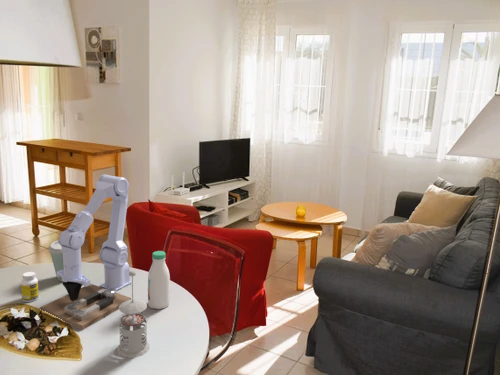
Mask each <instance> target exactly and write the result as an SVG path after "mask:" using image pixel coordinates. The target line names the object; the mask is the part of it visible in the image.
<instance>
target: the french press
mask: <svg viewBox="0 0 500 375" xmlns="http://www.w3.org/2000/svg"><path fill="white" fill-rule="evenodd" d="M136 275H137V273H136V271H135V270H130V272H129V276H130V277H131V282H132V283H131V300H128V301H125V302H124V303H122V304H121V305H120V306H119V309H118V310H119V312H121V313H122V314H123V316H122V317H121V318H120V322H119V344H118V345H117V347H116V352H117V354H118V355H119V356H121V357H123V358H128V359H131V358H137V357H138V358H139V357H141V356H143V355H145V354H146V353H148V352H149V350H150V348H151V345H150V343H149V341H148V340H147V336H148V335H147V334H148V333H147V332H148V331H147V328H148V327H147V324H148V323H147V322H148V321H147V320H146V316H145V314H143V313H142V312H144V311H145V310H147V307H148V303H146V302H145V301H144V300H140V299H137V298H136V299H134V276H136ZM131 327H132V330H131Z"/></svg>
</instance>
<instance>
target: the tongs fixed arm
mask: <svg viewBox="0 0 500 375" xmlns="http://www.w3.org/2000/svg"><path fill="white" fill-rule="evenodd" d="M112 304H113V298H111V297H107V298H105V299H103V300H101V301H99V302H97V303H95V304H94V305H93V306H91V307H89V308H87V309H85V310H83V311H82V310H79V309H78V310H76V311H75V312H74V318H77V319H79V320H84V319H86V318H88V317H90V316H91V315H93V314H95V313H97V312H99V311H101V310H103V309H104V308H106V307H108V306H110V305H112Z"/></svg>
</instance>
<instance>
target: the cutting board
mask: <svg viewBox="0 0 500 375" xmlns="http://www.w3.org/2000/svg"><path fill="white" fill-rule="evenodd" d="M102 289H105V288H103V287H100V285H99V286H98V285H95V284H92V283H90V285H89V286H87V287H85V286H82V287H81V289H80V292H79V296H78V299H77V300H75V301H71V300H70V297H69V294H68V293H67V294H65V295H64V296H61V297H59V298H57V299H55V300H53V301H50V302H49V303H46V304H45V305H42V306H40V307H39V310H40V309H41V310H43V311H46V312H48V313H50V314H52V315H54V316H56V317H58V318H60V319H62V320H63V321H65V322H67V323H66V324H68V323H69V324H68V325H70V326H72V327H74V328H77V329H79V330H81V331H82V330H85V329H88V327H90V326H92V325H94V324H95V323H97V322H99V321H101V320H102V319H105V317H108V316H109V315H111V314H113V313H114V312H116V311H118V310H119V306H120V305H121V304H122V303H124V302H125V301H128V300H132V297H130V296H127V295H124V294H122V293H118V292H116V298H114V299H113V304H112V305H110V306H108V307H106V308H104V309H103V310H101V311H99V312H97V313H95V314H93V315H91V316H90V317H88V318H86V319H84V320H79V319H77V318H74V315H73V316H71V315H69V314H67V313H65V312H64V307H66V306H68V305H70V304H72V303H74V302H76V301H78V300H81V299H83V298H84V297H86V296H88V295H90V294H92V293H94V292H97V291H100V290H102ZM103 299H105V298H104V297H103V298H101V299H99V300H97V301H95V302H93V303H91V304H89V305H86V306H84V307H82V308H80V309H79V310H82V311H83V310H85V309H87V308H89V307H91V306H93V305H94V304H95V303H97V302H99V301H101V300H103ZM63 321H62V322H63ZM65 322H64V323H65Z"/></svg>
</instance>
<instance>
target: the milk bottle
mask: <svg viewBox="0 0 500 375" xmlns="http://www.w3.org/2000/svg"><path fill="white" fill-rule="evenodd" d="M151 254H152V256H151V258H152V263H151V266H150V269H149V270H148V274H147V275H148V276H147V306H148V307H150V308H151V309H155V310H160V309H165V308H168V306H169V305H170V304H171V303H170V299H171V298H170V297H171V296H170V294H171V285H170V284H171V281H170V280H171V277H170V276H171V275H170V271H169V268H168V266H167V264H166V252H165V251H163V250H157V251H154V252H152V253H151Z"/></svg>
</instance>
